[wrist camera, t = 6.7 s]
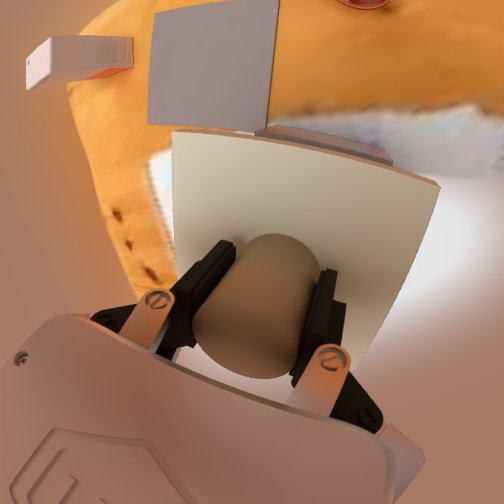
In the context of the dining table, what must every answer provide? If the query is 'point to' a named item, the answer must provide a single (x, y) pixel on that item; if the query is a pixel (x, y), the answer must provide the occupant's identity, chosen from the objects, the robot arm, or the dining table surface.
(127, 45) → the skincare box
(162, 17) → the mat
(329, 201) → the lid
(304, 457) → the robot arm
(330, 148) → the open grey box
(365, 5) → the pill bottle
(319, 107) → the dining table surface
